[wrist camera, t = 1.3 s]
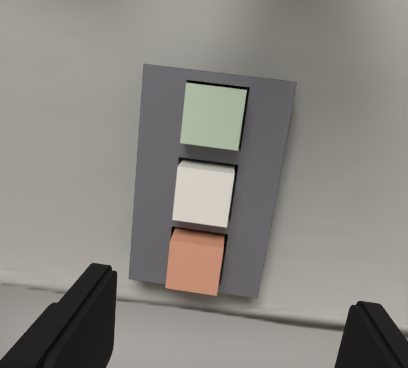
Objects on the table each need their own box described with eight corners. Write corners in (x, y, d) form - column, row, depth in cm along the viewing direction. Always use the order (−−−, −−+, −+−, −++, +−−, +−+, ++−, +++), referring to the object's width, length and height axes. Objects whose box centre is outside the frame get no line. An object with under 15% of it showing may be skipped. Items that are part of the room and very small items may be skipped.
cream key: (183, 158, 29) (177, 166, 26) (234, 165, 29) (234, 173, 26) (178, 206, 30) (172, 219, 27) (227, 213, 30) (226, 227, 27)
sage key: (191, 84, 28) (186, 82, 24) (244, 91, 27) (246, 89, 24) (186, 137, 29) (180, 143, 25) (237, 144, 28) (237, 150, 25)
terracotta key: (176, 224, 31) (170, 240, 27) (224, 231, 30) (223, 248, 27) (172, 268, 32) (165, 288, 28) (218, 274, 32) (216, 295, 28)
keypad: (152, 67, 29) (143, 63, 26) (290, 83, 29) (297, 82, 26) (137, 263, 34) (128, 278, 31) (255, 281, 33) (257, 298, 31)
